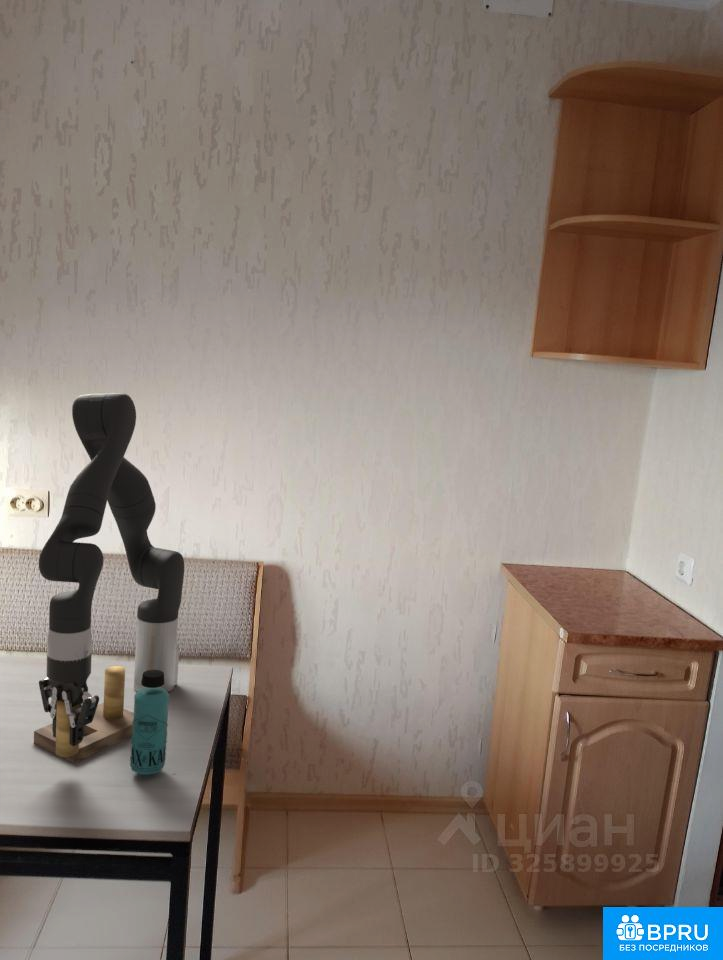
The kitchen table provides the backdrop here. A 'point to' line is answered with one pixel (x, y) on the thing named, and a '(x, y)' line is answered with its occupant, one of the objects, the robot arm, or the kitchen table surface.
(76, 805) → the kitchen table surface
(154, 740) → the beverage bottle
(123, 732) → the pin plate
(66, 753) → the pin
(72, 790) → the kitchen table surface
